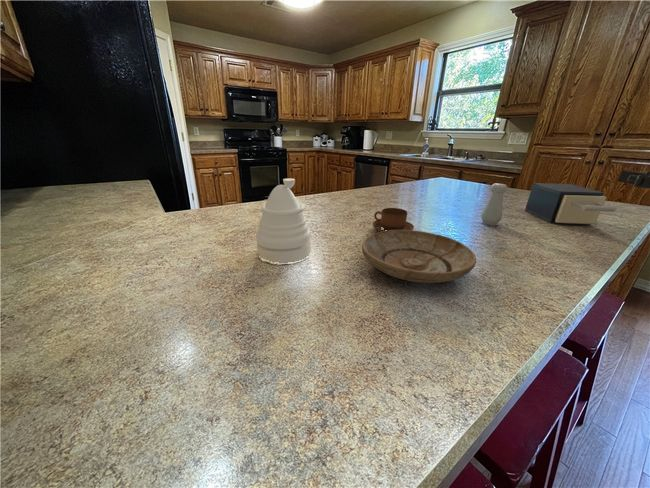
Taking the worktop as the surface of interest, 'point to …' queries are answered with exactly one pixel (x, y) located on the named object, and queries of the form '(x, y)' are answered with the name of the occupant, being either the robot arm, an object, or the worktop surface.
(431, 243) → the ceramic bowl
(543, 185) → the cabinet
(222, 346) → the worktop surface
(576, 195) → the drawer
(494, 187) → the salt shaker
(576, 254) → the worktop surface
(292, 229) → the honey pot
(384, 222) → the cup and saucer
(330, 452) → the worktop surface
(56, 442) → the worktop surface
